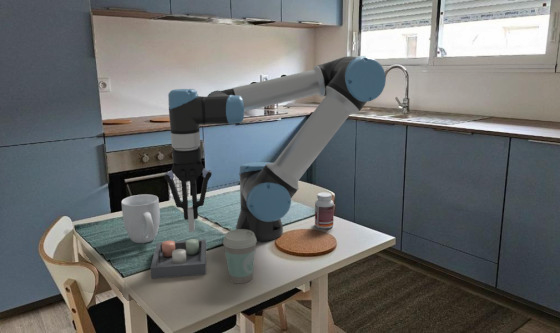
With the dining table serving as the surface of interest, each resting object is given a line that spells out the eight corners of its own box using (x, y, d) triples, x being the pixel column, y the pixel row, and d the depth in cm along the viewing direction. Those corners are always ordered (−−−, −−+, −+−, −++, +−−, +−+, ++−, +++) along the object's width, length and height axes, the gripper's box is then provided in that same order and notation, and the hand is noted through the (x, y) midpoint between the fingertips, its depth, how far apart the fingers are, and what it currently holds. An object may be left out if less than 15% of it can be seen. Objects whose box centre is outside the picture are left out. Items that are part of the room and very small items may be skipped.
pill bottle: (337, 225, 149) (337, 194, 147) (325, 230, 145) (325, 198, 143) (322, 220, 154) (323, 190, 151) (311, 225, 150) (311, 194, 147)
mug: (171, 245, 135) (168, 204, 132) (134, 254, 129) (130, 211, 126) (155, 229, 147) (152, 192, 144) (121, 237, 141) (117, 198, 138)
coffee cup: (244, 289, 110) (243, 244, 107) (217, 280, 114) (215, 237, 111) (264, 275, 117) (263, 232, 114) (237, 267, 121) (236, 225, 118)
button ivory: (186, 259, 123) (186, 248, 122) (186, 265, 119) (185, 254, 118) (173, 260, 122) (172, 249, 121) (172, 266, 119) (171, 255, 118)
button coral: (176, 250, 128) (175, 240, 127) (175, 255, 125) (174, 245, 124) (163, 251, 128) (162, 241, 127) (161, 256, 124) (161, 246, 123)
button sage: (199, 248, 129) (198, 238, 128) (199, 254, 126) (198, 243, 125) (186, 249, 129) (185, 239, 128) (186, 255, 125) (185, 244, 124)
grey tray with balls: (206, 248, 133) (205, 239, 132) (206, 274, 117) (205, 263, 117) (157, 252, 131) (157, 242, 130) (151, 278, 115) (150, 268, 115)
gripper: (210, 143, 124) (215, 223, 130) (162, 145, 122) (169, 226, 128) (211, 149, 117) (215, 233, 123) (159, 151, 115) (167, 236, 121)
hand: (191, 229), depth 125 cm, fingers closed
